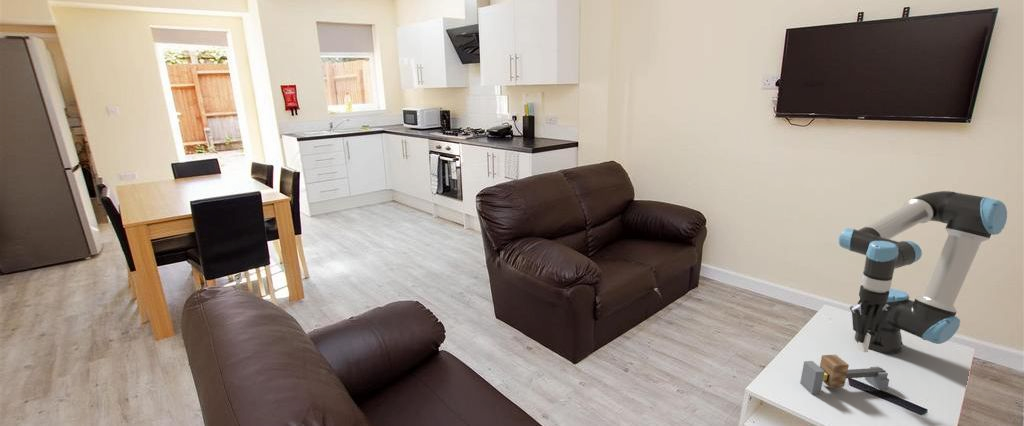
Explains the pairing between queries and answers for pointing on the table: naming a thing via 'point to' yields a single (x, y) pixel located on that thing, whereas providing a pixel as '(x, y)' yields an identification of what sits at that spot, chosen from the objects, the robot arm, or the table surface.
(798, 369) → the table surface
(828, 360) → the wooden block on rod
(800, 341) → the table surface
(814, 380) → the rod rig
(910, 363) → the table surface
